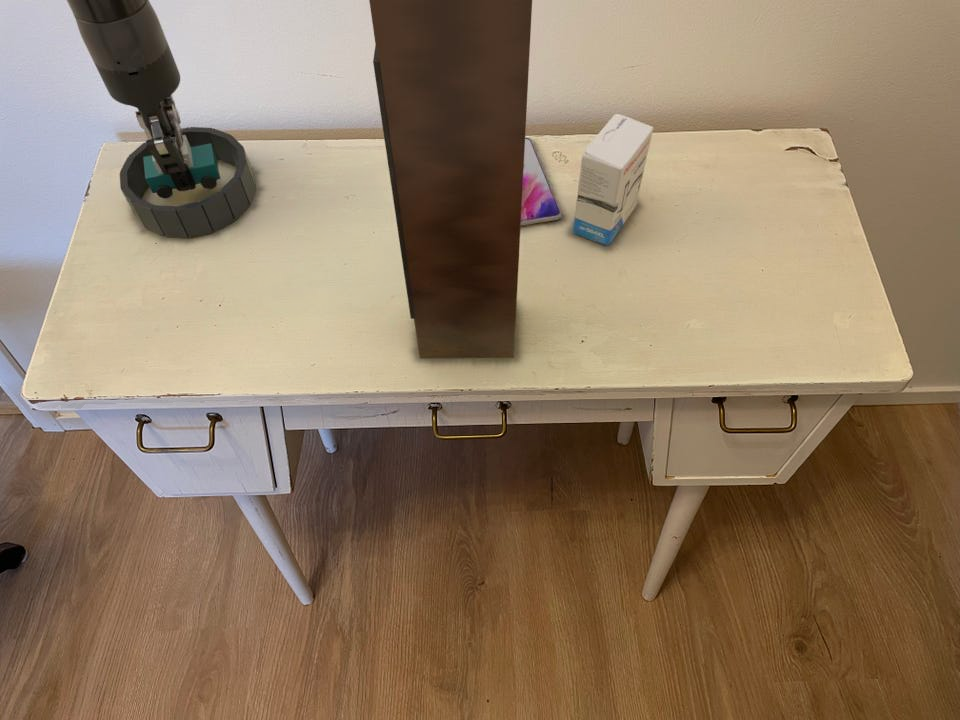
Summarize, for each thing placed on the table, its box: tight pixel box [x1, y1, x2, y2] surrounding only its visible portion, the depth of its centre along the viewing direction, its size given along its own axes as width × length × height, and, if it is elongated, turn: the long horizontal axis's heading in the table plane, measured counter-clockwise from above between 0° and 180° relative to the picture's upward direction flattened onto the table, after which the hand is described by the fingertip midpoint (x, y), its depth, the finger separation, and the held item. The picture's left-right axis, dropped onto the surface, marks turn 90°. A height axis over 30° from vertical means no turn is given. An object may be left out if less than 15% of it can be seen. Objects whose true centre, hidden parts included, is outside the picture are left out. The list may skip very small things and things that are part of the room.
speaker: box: [368, 0, 533, 359], centre depth 62 cm, size 10×7×40 cm
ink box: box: [572, 113, 654, 247], centre depth 83 cm, size 9×5×12 cm, turn 148°
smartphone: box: [521, 136, 562, 226], centre depth 91 cm, size 7×1×15 cm
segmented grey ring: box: [119, 126, 257, 239], centre depth 89 cm, size 15×15×4 cm
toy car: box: [143, 135, 221, 200], centre depth 87 cm, size 8×5×5 cm, turn 108°
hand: (185, 175), depth 88 cm, fingers closed on toy car, 4 cm apart
